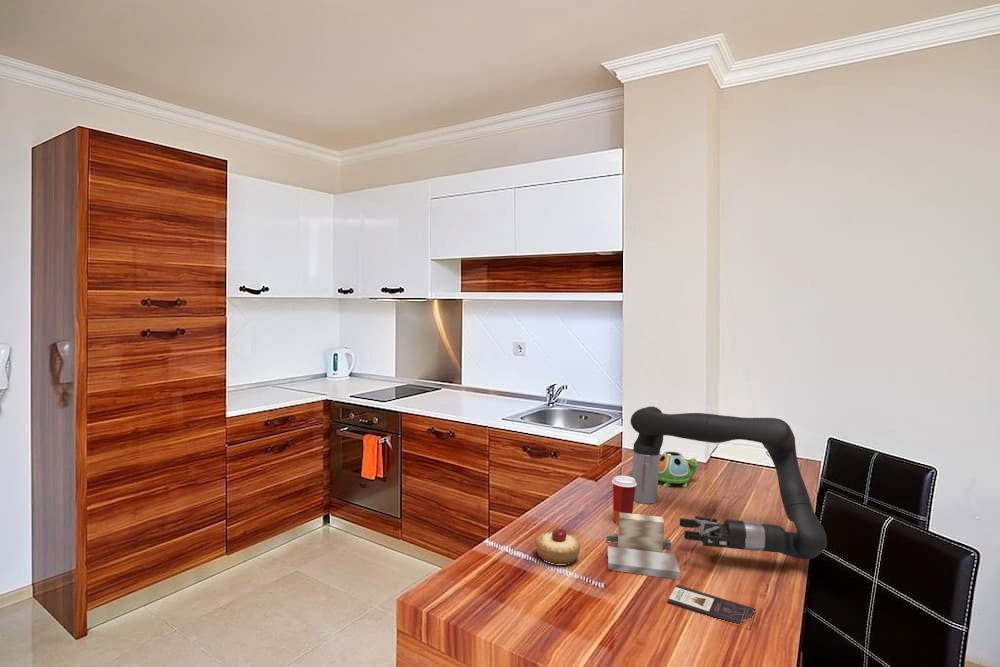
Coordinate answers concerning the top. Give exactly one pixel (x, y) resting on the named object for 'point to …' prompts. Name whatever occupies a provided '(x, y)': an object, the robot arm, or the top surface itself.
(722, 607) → the chocolate bar
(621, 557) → the mating board
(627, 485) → the paper cup
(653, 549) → the beige rectangular block
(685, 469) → the turtle holder
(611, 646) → the top surface
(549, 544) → the pastry
